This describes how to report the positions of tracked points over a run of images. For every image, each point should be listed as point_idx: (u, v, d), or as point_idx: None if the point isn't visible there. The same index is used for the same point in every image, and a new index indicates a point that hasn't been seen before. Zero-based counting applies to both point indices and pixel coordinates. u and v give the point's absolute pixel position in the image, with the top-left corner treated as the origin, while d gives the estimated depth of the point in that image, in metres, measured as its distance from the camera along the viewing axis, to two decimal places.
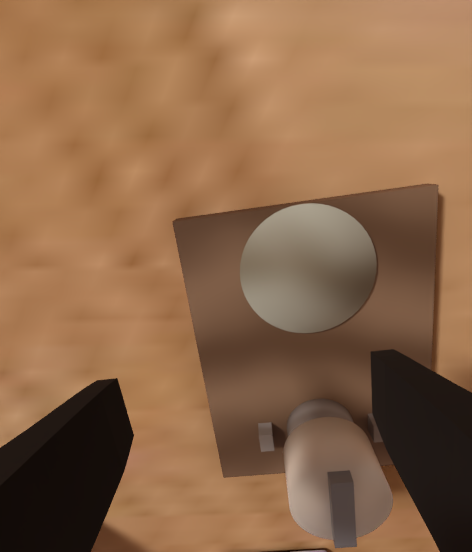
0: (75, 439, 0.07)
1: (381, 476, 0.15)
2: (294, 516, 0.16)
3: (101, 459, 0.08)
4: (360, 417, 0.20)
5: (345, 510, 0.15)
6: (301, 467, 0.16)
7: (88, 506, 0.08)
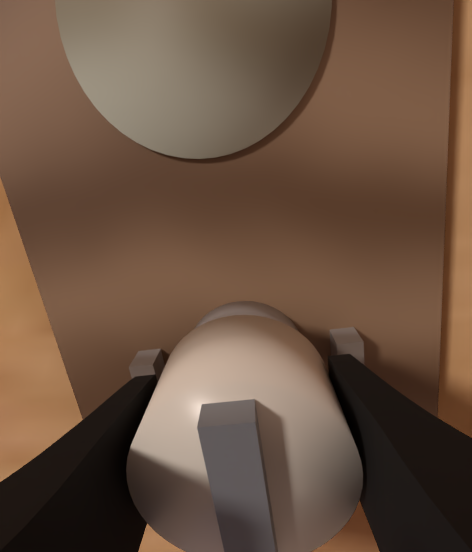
0: (124, 434, 0.07)
1: (332, 414, 0.06)
2: (143, 513, 0.07)
3: None
4: (317, 337, 0.11)
5: (243, 497, 0.06)
6: (154, 400, 0.07)
7: None
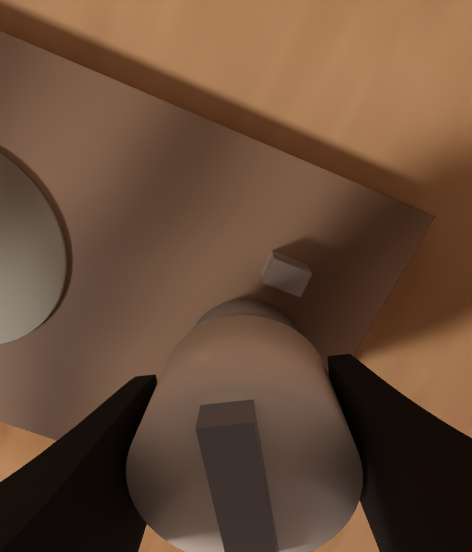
0: (124, 434, 0.07)
1: (331, 414, 0.06)
2: (144, 514, 0.07)
3: None
4: (263, 286, 0.11)
5: (243, 499, 0.06)
6: (153, 402, 0.07)
7: None
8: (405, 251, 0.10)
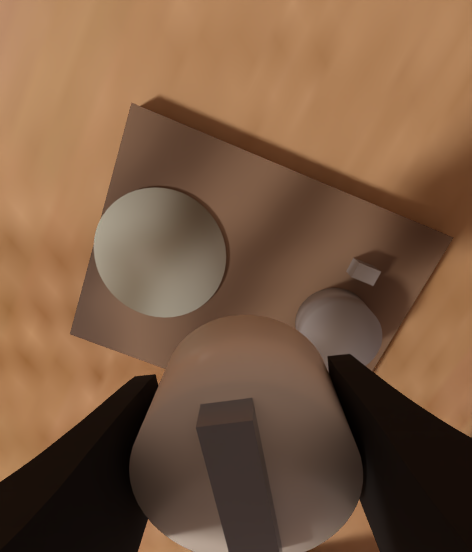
0: (123, 434, 0.07)
1: (329, 411, 0.06)
2: (148, 513, 0.07)
3: None
4: (346, 280, 0.18)
5: (244, 495, 0.06)
6: (155, 402, 0.07)
7: (135, 502, 0.07)
8: (435, 258, 0.17)
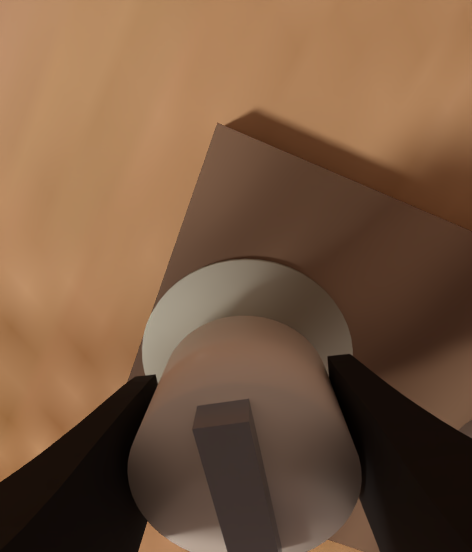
0: (124, 435, 0.07)
1: (326, 410, 0.06)
2: (147, 515, 0.07)
3: None
4: None
5: (241, 497, 0.06)
6: (152, 404, 0.07)
7: None
8: None
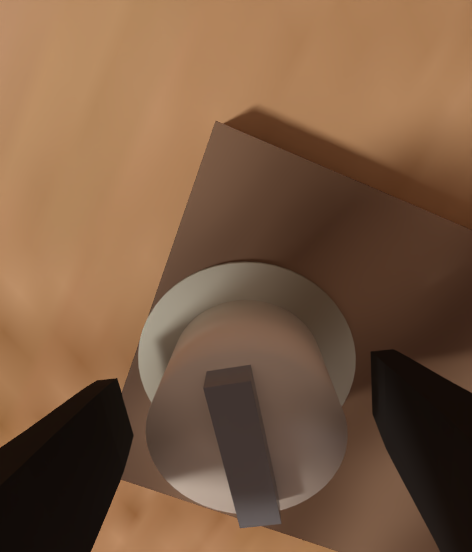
0: (75, 439, 0.07)
1: (317, 375, 0.07)
2: (162, 470, 0.08)
3: (101, 459, 0.08)
4: None
5: (245, 448, 0.07)
6: (167, 373, 0.08)
7: (88, 506, 0.08)
8: None
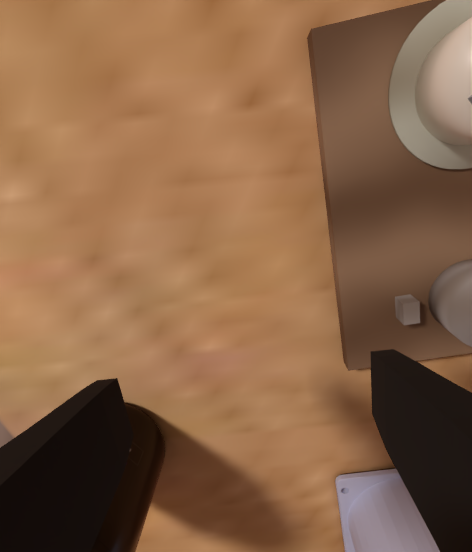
0: (75, 439, 0.07)
1: None
2: None
3: (101, 459, 0.08)
4: None
5: None
6: None
7: (88, 506, 0.08)
8: None
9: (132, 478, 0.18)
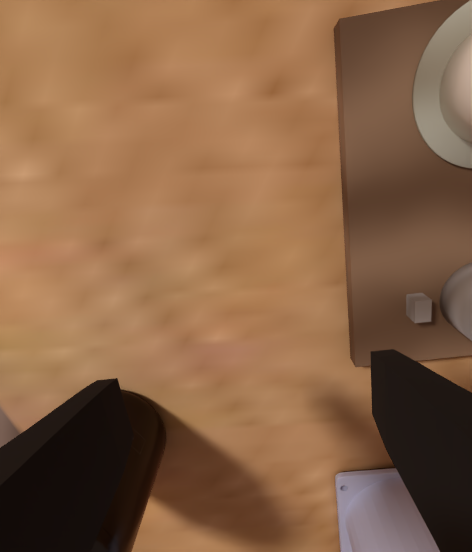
0: (75, 439, 0.07)
1: None
2: None
3: (101, 459, 0.08)
4: None
5: None
6: None
7: (88, 506, 0.08)
8: None
9: (134, 466, 0.17)
